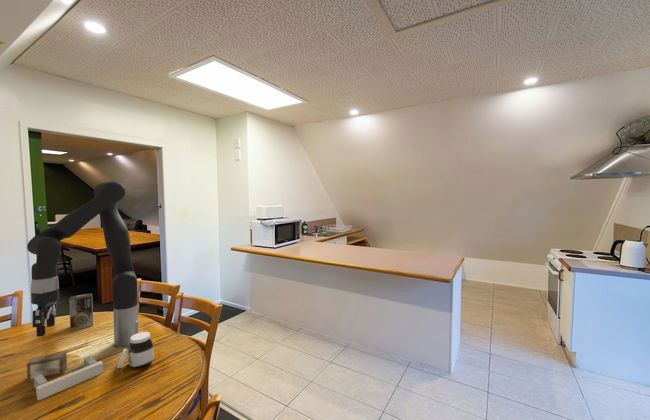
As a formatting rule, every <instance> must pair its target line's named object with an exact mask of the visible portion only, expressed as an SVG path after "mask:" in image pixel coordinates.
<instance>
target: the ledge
mask: <svg viewBox="0 0 650 420" xmlns="http://www.w3.org/2000/svg"><path fill="white" fill-rule="evenodd" d="M103 373H104V362H103V361H101V360H100V361H97V360H95V358H93V357H92V356H91V355H87V356H86V357H83V367H81V368H79V369H77V370H74V371H72V372H69V373H67V374H65V375H63V376H60V377H58V378H55V379H52V380H50V381H48V380H47V379H46V378H45V377H44V376H43V375H42V374H40V375H38V376H35V377H34V381H33V388H34V390H35V391H36V400H37V401H38V402H39V401H42V400H43V399H46V398H48V397H51V396H52V395H54V394H55V395H56V394H57V393H59V392H62V391H64V390H67V389H68V388H69V389H70V388H71V387H73V386H76V385H78V384H81V383H83V382H85V381H87V380H90V379H92V378H94V377H97V376H98V375H101V374H103Z"/></svg>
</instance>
